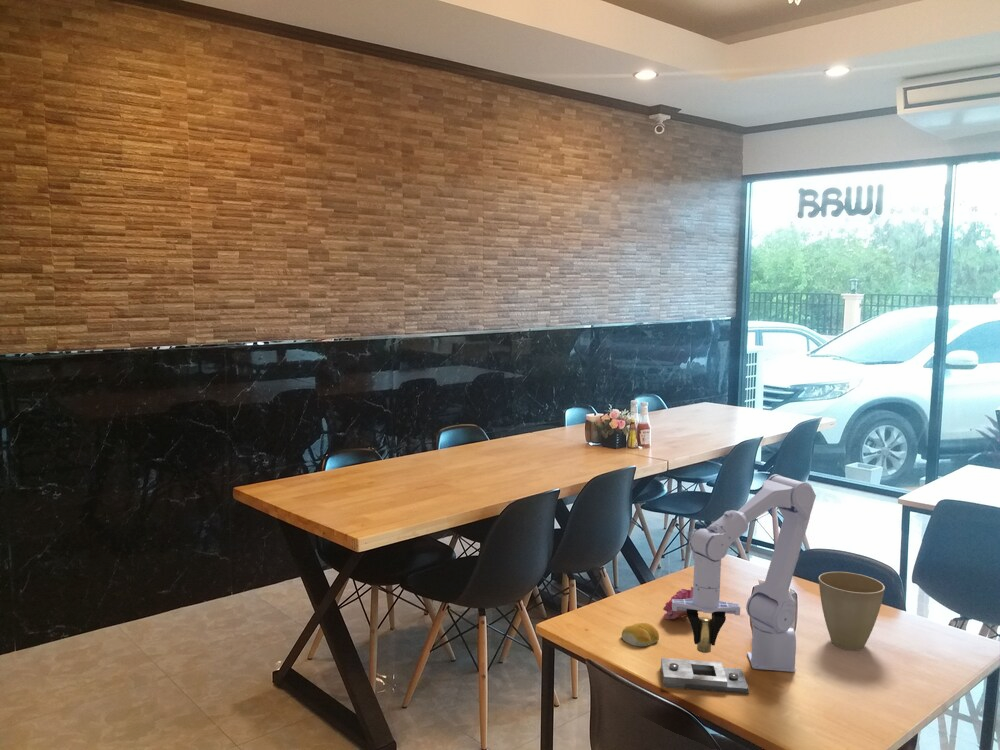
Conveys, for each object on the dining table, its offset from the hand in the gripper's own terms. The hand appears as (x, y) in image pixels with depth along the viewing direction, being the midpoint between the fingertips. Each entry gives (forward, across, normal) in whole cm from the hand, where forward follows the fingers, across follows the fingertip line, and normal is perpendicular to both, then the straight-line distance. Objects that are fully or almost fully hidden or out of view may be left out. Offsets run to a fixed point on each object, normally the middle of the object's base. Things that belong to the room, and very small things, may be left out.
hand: (704, 642), depth 171 cm
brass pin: (+2, 0, 0) cm, 2 cm away
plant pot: (+9, +38, +25) cm, 46 cm away
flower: (+9, -2, +33) cm, 34 cm away
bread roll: (+9, -13, +18) cm, 24 cm away
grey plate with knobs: (+9, 0, 0) cm, 9 cm away
